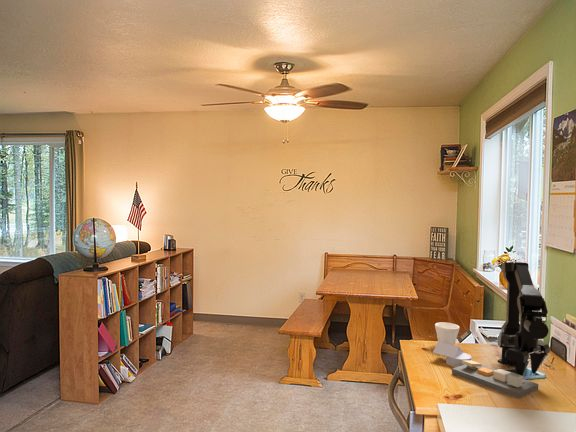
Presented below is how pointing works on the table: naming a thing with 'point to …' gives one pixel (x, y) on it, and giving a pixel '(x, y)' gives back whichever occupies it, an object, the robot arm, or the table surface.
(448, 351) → the wedge on round base
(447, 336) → the cup
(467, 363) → the cream rectangular plate
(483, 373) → the orange button
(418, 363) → the table surface
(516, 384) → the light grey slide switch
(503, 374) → the off-white button
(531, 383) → the control panel
